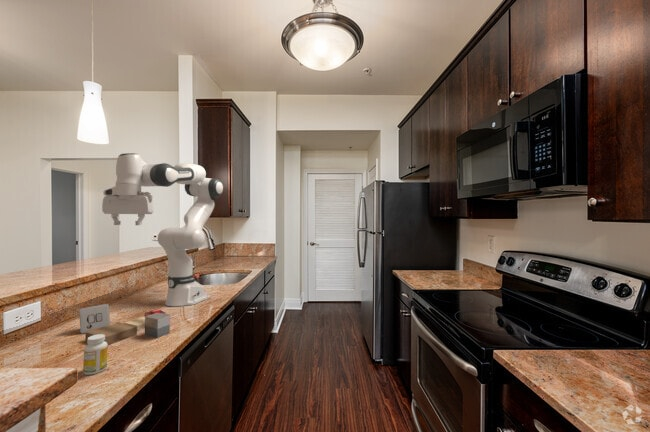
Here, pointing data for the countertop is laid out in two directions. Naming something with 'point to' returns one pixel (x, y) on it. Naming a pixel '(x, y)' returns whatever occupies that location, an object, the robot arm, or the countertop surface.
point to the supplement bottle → (95, 355)
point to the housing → (157, 325)
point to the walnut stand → (114, 332)
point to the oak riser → (137, 323)
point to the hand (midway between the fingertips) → (127, 225)
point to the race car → (154, 312)
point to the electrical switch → (94, 317)
